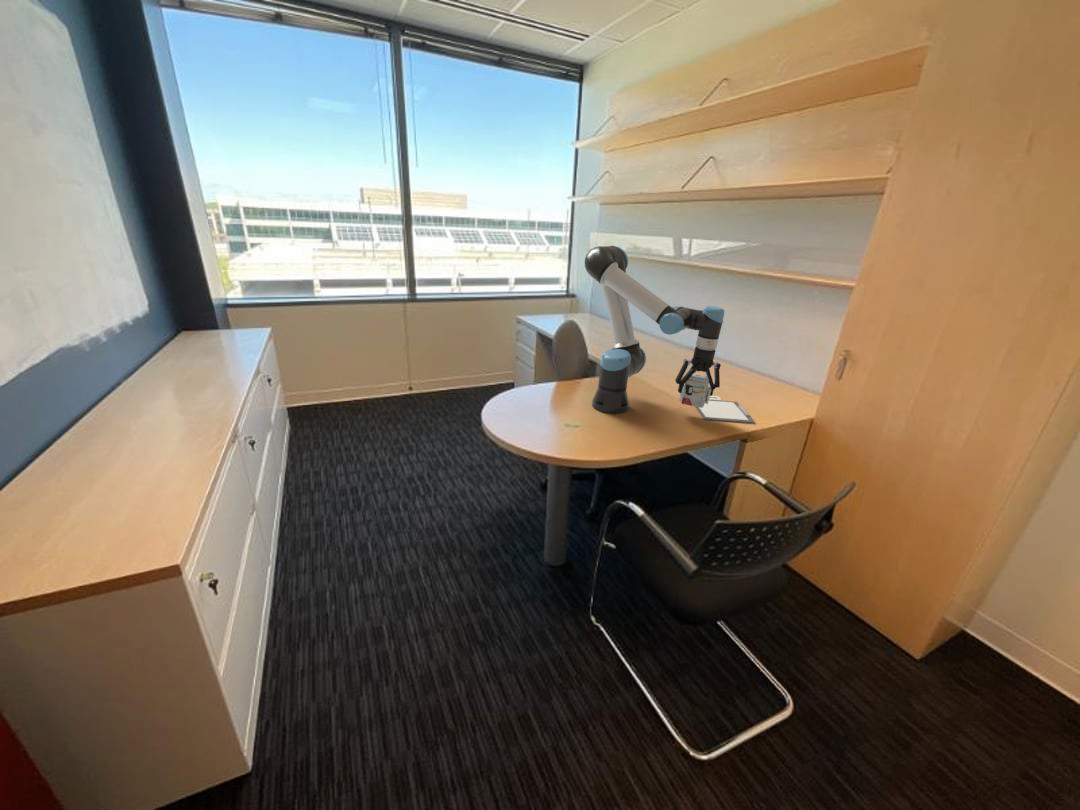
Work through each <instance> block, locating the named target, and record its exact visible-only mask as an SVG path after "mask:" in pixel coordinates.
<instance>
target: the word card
mask: <svg viewBox="0 0 1080 810" xmlns="http://www.w3.org/2000/svg"><path fill="white" fill-rule="evenodd" d="M709 400H719V401H723V400H722V399H721V397H720V396H718V395H712V396H710V397H709Z"/></svg>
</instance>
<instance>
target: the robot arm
mask: <svg viewBox="0 0 1080 810" xmlns="http://www.w3.org/2000/svg"><path fill="white" fill-rule="evenodd" d="M584 258H585V259H584V268H585V270H586V272H587V274H588V275H589V276H590V277H591V278H592V279H593V280H595V281H597V282H598V284H599V285H601V286H602V287H603V291H604V297H605V302H606V306H607V311H608V317H609V323H610V325H611V326H610V327H611V331H612V332H611V333H612V337H613V341H614V343H613V345H612V346H611V349H608V350H605V351H603V353H602V354H601V358H600V360H599V363H600V364H599V366H600V367H599V377H598V385H597V388H596V389H597V390H596V392H595V393H594V396H593V397H592V401H591V402H592V403H591V406H592V408H593V409H595V410H597V411H599V412H603V413H608V414H621V413H623V414H624V413H625V412H627V411H628V410H629V405H630V404H629V403H630V401H629V397H628V392H627V389H628V380H629V378H631V377H632V376H633V375H634V376H635V375H637V374H638V373H640V371H642V370H643V368H644V367H645V365H646V362H647V355H646V353H645V351H644V350H643V349H642V348H641V347H640V346H641V345H640V340H639V341H638V340H637V339H636V338H635V334H634V327H633V324H632V323H633V322H632V318H631V313H630V312H631V311H630V307H629V303H630V304H631V305H632V306H633V307H635V308H637V309H638V311H639V310H640V311H641V312H642V313H643V314H644V315H645V316H647V317H648V318H650V319H651V320H653V321H654V322H655V323H656V324H658V325H659V329H660V331H661V332H662V333H664V334H666V335H668V336H669V335H670V336H671V335H676V334H678V333H680V332H682V331H683V330H685V329H686V330H687V329H689V330H694V331H698V334H697V337H696V342H695V347H694V352H693V355H692V358H691V359H687V358H684V359H683V363H682V366H681V368H680V370H679V371H678V373H677V376H676V378H675V380H674V381H675V383H676V384H677V385H678V388H677V392H678V393H679V394H678V395H679V396H678V401H679V402H682V399H683V394H684V390H685V383H686V382H687V380H688V379H689V378H690V377H691V376H692V375H693V374H696V372H702V373H705V376H707V377H708V378H709V384H708V389H707V394H706V399H705V403H706V404H708V401H709V397H710V396H714V395H713V393H714V391H715V390H716V388H717V389H718V388H721V386H720V385H721V383H720V381H721V380H720V368H721V363H720V362H719V361H716V362H715V361H714V360H715V359H714V358H715V355H716V349H717V346H718V342H719V339H720V333H721V330H722V326H723V323H724V318H725V310H724V308H723V307H719V306H713V305H706V306H704V307H703V309H702V310H699V309H695V308H689V307H684V306H678V305H677V306H676V305H674V306H673V307H672V306H671V305H670V304H668V303H667V302H666V301H664V300H663V299H661V298H660V297H659V296H657V295H656V294H655V293H653V292H652V291H651V290H649V289H648V288H646V287H645V286H644V285H643V284H641V283H640V282H638V280H636V279H635V278H634V277H631V276H630V274H628V273H627V270H626V269H627V267H628V265H629V257H628V255H627V253H626V252H625V250H624V249H622V248H621V247H620V246H615V245H607V246H605V245H603V246H601V245H600V246H595V247H593V248H591V249H589V250H588V252H587V253H586V255H585V257H584ZM690 364H691V367H690V368H689V370H688V371H687V369H688V366H690ZM712 367H713V370H714V372H713V373H714V374H713V375H714V381H713V378H712V374H711V370H710V368H712ZM686 371H687V372H686Z"/></svg>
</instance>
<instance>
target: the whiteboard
mask: <svg viewBox="0 0 1080 810" xmlns="http://www.w3.org/2000/svg"><path fill="white" fill-rule="evenodd" d="M694 407H695V408H696V411H698V413H699V414H700V416H701V417H702V419H703V420H704V421H710V422H711V421H713V422H714V421H715V422H726V423H727V422H728V423H739V424H740V423H742V424H752V423H755V424H756V421H755V420H754V419H753V418H752V417H751V416H750V414H749V413H748V412H747V410H745V408H744V407H743V406H742V405H740V404H739V403H738V402H737V401H731V400H722V401H719V400H709V401H708V404H706V403H705V404H704V406H703V408H700V407H696V406H694Z"/></svg>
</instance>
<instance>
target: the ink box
mask: <svg viewBox="0 0 1080 810" xmlns="http://www.w3.org/2000/svg"><path fill="white" fill-rule="evenodd" d="M684 385H685V390H684V394H683V399H682V402H681V401H680V402H681V404H683V405H687V406H690V407H691V406H692V407H695V406H696V407H700V408H703V406H704V404H705V399H706V394H707V389H708V386H709V385H710V384H709V378H708V377H707V375H702V374H697V373H693V375H692V376H691V377H690V378H689V379H688V380H687V382H686V383H685V384H684ZM696 407H695V408H696Z"/></svg>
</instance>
